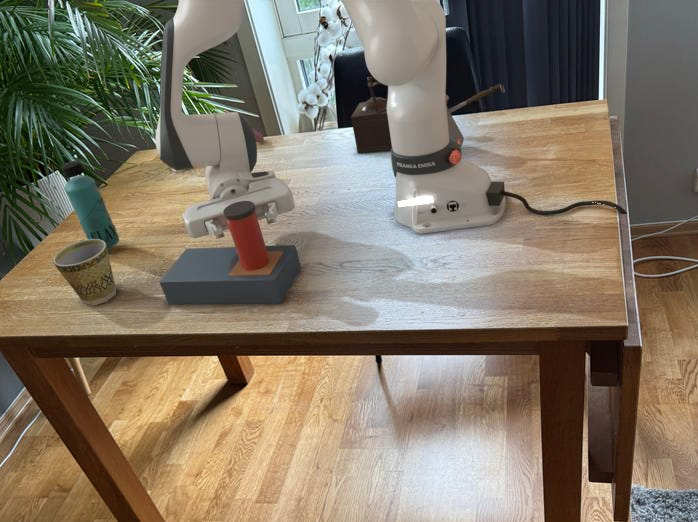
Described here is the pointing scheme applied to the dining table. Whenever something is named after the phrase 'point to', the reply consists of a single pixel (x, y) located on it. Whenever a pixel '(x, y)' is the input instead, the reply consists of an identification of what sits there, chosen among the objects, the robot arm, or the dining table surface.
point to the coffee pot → (452, 126)
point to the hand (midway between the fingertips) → (245, 226)
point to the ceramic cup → (87, 270)
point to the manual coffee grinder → (372, 124)
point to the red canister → (246, 235)
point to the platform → (230, 277)
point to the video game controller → (258, 136)
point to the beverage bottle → (89, 205)
